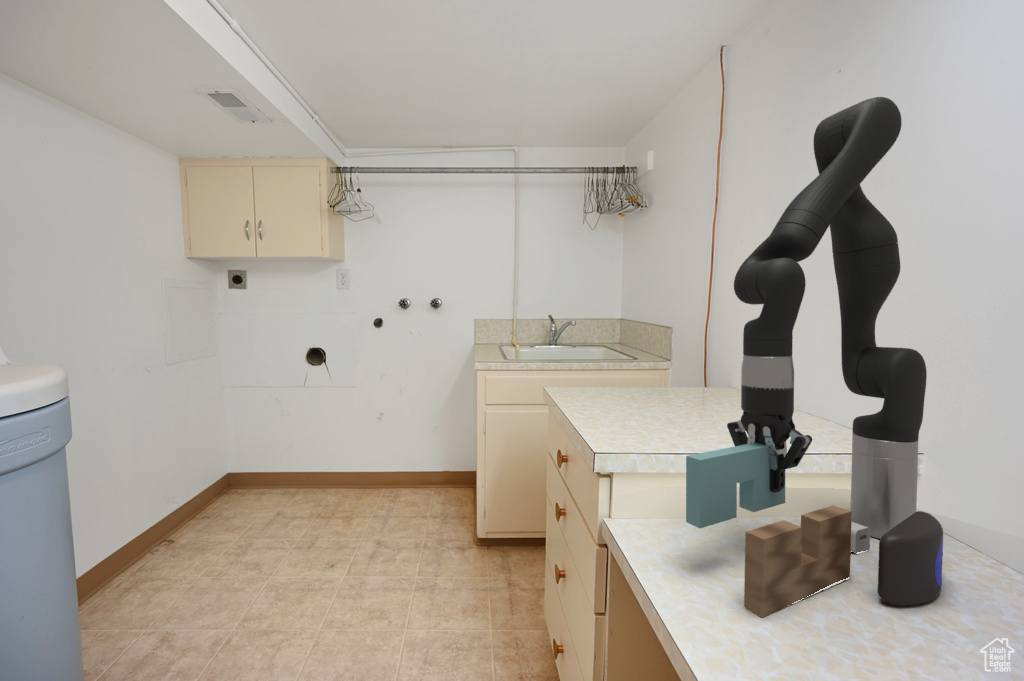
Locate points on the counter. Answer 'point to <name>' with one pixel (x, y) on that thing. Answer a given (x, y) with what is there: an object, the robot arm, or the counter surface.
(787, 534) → the brown flat u-shaped block
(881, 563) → the black rounded block
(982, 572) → the counter surface
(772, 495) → the teal plate
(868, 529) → the usb wall charger
